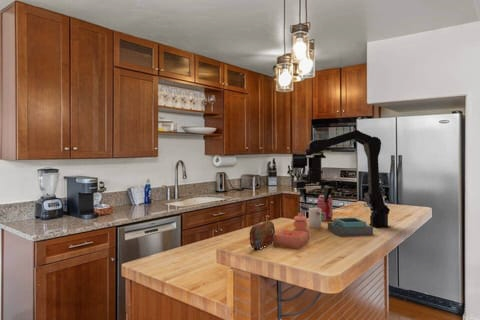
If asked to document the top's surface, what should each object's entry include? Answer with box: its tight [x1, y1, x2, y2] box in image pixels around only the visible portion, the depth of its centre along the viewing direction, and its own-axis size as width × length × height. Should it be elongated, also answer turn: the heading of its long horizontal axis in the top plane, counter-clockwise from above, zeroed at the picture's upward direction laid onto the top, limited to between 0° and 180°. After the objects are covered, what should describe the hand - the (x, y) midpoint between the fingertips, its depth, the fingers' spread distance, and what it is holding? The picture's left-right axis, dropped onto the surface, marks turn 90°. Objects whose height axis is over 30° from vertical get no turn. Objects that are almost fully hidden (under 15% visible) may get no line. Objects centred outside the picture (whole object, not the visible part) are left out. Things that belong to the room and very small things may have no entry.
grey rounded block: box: [308, 207, 322, 229], centre depth 148 cm, size 6×7×8 cm
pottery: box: [272, 212, 310, 250], centre depth 124 cm, size 18×10×10 cm, turn 149°
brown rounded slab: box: [249, 220, 276, 250], centre depth 119 cm, size 15×3×8 cm, turn 148°
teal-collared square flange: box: [327, 217, 374, 237], centre depth 138 cm, size 14×12×5 cm
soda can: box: [317, 194, 334, 222], centre depth 164 cm, size 7×7×12 cm
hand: (315, 203), depth 149 cm, fingers open, 9 cm apart
